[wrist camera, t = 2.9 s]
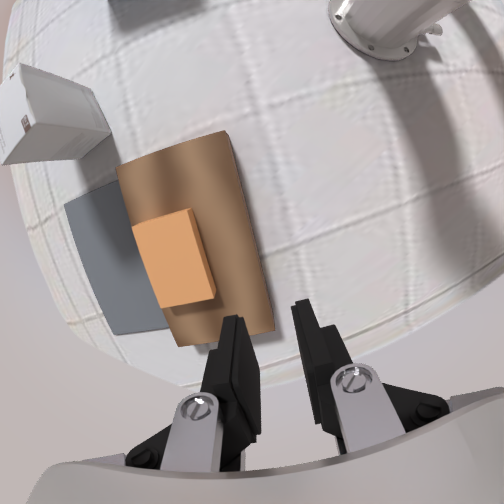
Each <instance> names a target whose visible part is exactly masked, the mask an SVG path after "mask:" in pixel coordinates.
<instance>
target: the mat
mask: <svg viewBox="0 0 504 504" xmlns="http://www.w3.org/2000/svg"><path fill="white" fill-rule="evenodd" d="M64 207H65V211H66V215H67V218H68V221H69V225H70V228H71V231H72V235H73V238H74V241H75V244H76V247H77V250H78V252H79V255H80V258H81V261H82V264H83V266H84V269H85V272H86V274H87V277H88V279H89V282H90V284H91V287H92V289H93V291H94V294H95V296H96V298H97V301H98V303H99V305H100V307H101V309H102V312H103V314H104V316H105V318H106V320H107V322H108V324H109V326H110V328H111V330H112V332H113V334H114V335H116V334H124V333H132V332H140V331H147V330H154V329H161V328H168V327H169V325H168V323H167V321H166V319H165V316H164V314H163V311H162V309H161V308H160V305H159V303H158V300H157V298H156V295H155V293H154V290H153V287H152V285H151V282H150V280H149V277H148V274H147V272H146V269H145V266H144V263H143V260H142V258H141V255H140V252H139V249H138V246H137V243H136V240H135V237H134V234H133V230H132V226H131V223H130V219H129V216H128V213H127V209H126V206H125V202H124V199H123V195H122V191H121V188H120V184H119V180H118V181H115V182H113V183H110V184H108V185H105V186H103V187H101V188H98V189H96V190H94V191H92V192H89V193H87V194H85V195H83V196H80V197H78V198H76V199H74V200H72V201H70V202H68V203H66V204H64Z"/></svg>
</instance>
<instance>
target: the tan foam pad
mask: <svg viewBox="0 0 504 504" xmlns="http://www.w3.org/2000/svg"><path fill="white" fill-rule="evenodd" d="M132 230H133V234H134V237H135V240H136V243H137V246H138V249H139V252H140V255H141V258H142V260H143V263H144V266H145V269H146V272H147V274H148V277H149V280H150V282H151V285H152V287H153V290H154V293H155V295H156V298H157V300H158V303H159V305H160V308H166V307H172V306H177V305H182V304H188V303H193V302H198V301H203V300H208V299H213V298H214V297H215V293H216V287H215V283H214V280H213V277H212V274H211V271H210V268H209V264H208V261H207V258H206V255H205V251H204V248H203V245H202V241H201V238H200V234H199V231H198V228H197V224H196V221H195V217H194V214H193V210H192V208H189V209H185V210H181V211H178V212H174V213H171V214H168V215H164V216H161V217H158V218H154V219H151V220H148V221H145V222H141V223H139V224H137V225H135V226H133V227H132Z"/></svg>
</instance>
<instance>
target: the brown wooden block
mask: <svg viewBox="0 0 504 504" xmlns="http://www.w3.org/2000/svg"><path fill="white" fill-rule="evenodd" d="M115 168H116V172H117V176H118V180H119V184H120V188H121V191H122V195H123V199H124V202H125V206H126V209H127V213H128V216H129V219H130V223H131V226H132V227H133V226H135V225H137V224H139V223H141V222H145V221H148V220H151V219H154V218H158V217H161V216H164V215H168V214H171V213H174V212H178V211H181V210H185V209H189V208H192V210H193V214H194V217H195V221H196V224H197V228H198V231H199V234H200V238H201V241H202V245H203V248H204V251H205V255H206V258H207V261H208V264H209V268H210V271H211V274H212V277H213V280H214V283H215V287H216V293H215V297H214V298H213V299H208V300H203V301H198V302H193V303H188V304H182V305H177V306H172V307H166V308H161V309H162V311H163V314H164V316H165V319H166V321H167V323H168V325H169V328H170V330H171V332H172V335H173V337H174V339H175V341H176V343H177V346H178V347H183V346H190V345H197V344H204V343H210V342H216V341H219V338H220V333H221V328H222V323H223V318H224V317H225V316H230V315H236V314H237V315H238V316H239V317H243V318H244V320H245V324H246V327H247V330H248V333H249V336H250V335H255V334H260V333H265V332H270V331H275V324H274V316H273V311H272V307H271V303H270V298H269V294H268V290H267V286H266V282H265V278H264V274H263V270H262V266H261V262H260V258H259V254H258V250H257V246H256V242H255V238H254V234H253V230H252V226H251V222H250V218H249V214H248V210H247V206H246V202H245V198H244V194H243V190H242V186H241V182H240V178H239V175H238V171H237V167H236V163H235V159H234V155H233V151H232V147H231V143H230V139H229V135H228V134H227V133H226V131H225V130H224V131H220V132H216V133H213V134H209V135H206V136H202V137H199V138H196V139H192V140H189V141H186V142H183V143H180V144H177V145H174V146H171V147H168V148H165V149H162V150H159V151H156V152H154V153H151V154H148V155H145V156H143V157H140V158H138V159H135V160H133V161H130V162H128V163H125V164H123V165H120V166H118V167H115Z"/></svg>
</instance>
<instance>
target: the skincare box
mask: <svg viewBox="0 0 504 504" xmlns="http://www.w3.org/2000/svg"><path fill="white" fill-rule="evenodd" d="M110 134H111V131H110V128H109V126H108V124H107V122H106V120H105V118H104V116H103V114H102V112H101V110H100V108H99V105H98V103H97V101H96V99H95V97H94V96H93V93H92V91H91V89H90V88H88V87H85V86H83V85H80V84H78V83H75V82H73V81H70V80H68V79H65V78H62V77H60V76H57V75H54V74H52V73H49V72H46V71H43V70H40V69H37V68H34V67H31V66H28V65H25V64H22V63H18V64H17V65H16V66H15V68H14V69H13V70H12V71H11V72H10V74H9V75H8V76H7V77H6V79H5V80H4V81H3V82H2V84H1V85H0V162H1V165H10V164H19V163H29V162H40V161H54V160H74V159H81V158H82V157H83V156H85V155H86V154H87V153H88V152H89V151H90V150H92V149H93V148H94V147H95V146H96V145H98V144H99V143H100V142H101V141H103V140H104V139H105V138H106V137H108V136H109V135H110Z"/></svg>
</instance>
